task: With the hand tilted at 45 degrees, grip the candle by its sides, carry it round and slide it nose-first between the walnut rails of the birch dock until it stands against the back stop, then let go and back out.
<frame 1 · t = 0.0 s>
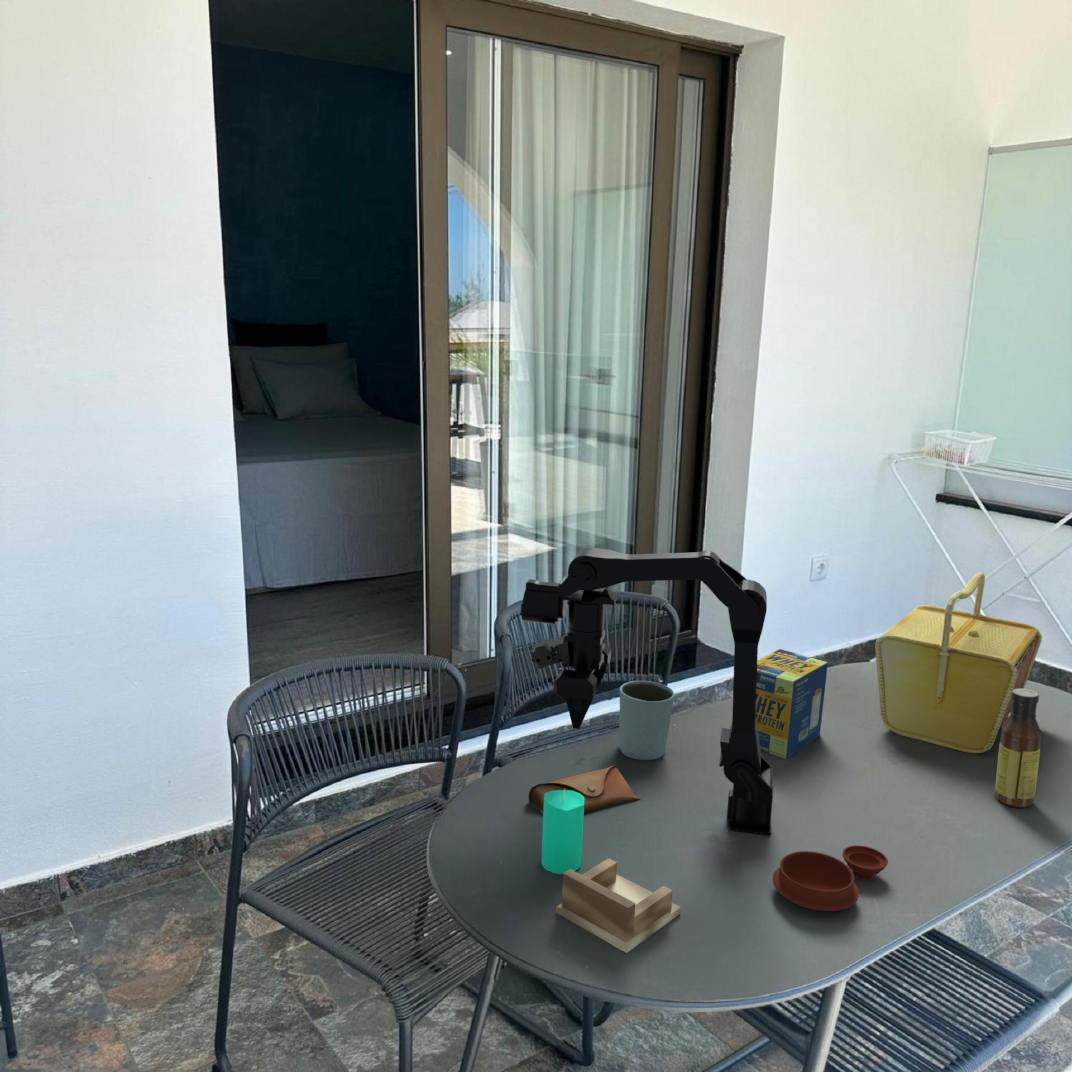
hand: (581, 717, 160), 15 cm above the table, tool pointing down, fingers open, 9 cm apart
picnic basket: (948, 725, 199), on the table
pottery: (832, 890, 139), on the table
protein box: (779, 740, 189), on the table
pale green cup: (643, 751, 182), on the table
dock: (618, 913, 132), on the table
candle: (561, 864, 144), on the table
sauce bottle: (1012, 801, 167), on the table
sunglasses case: (585, 803, 163), on the table
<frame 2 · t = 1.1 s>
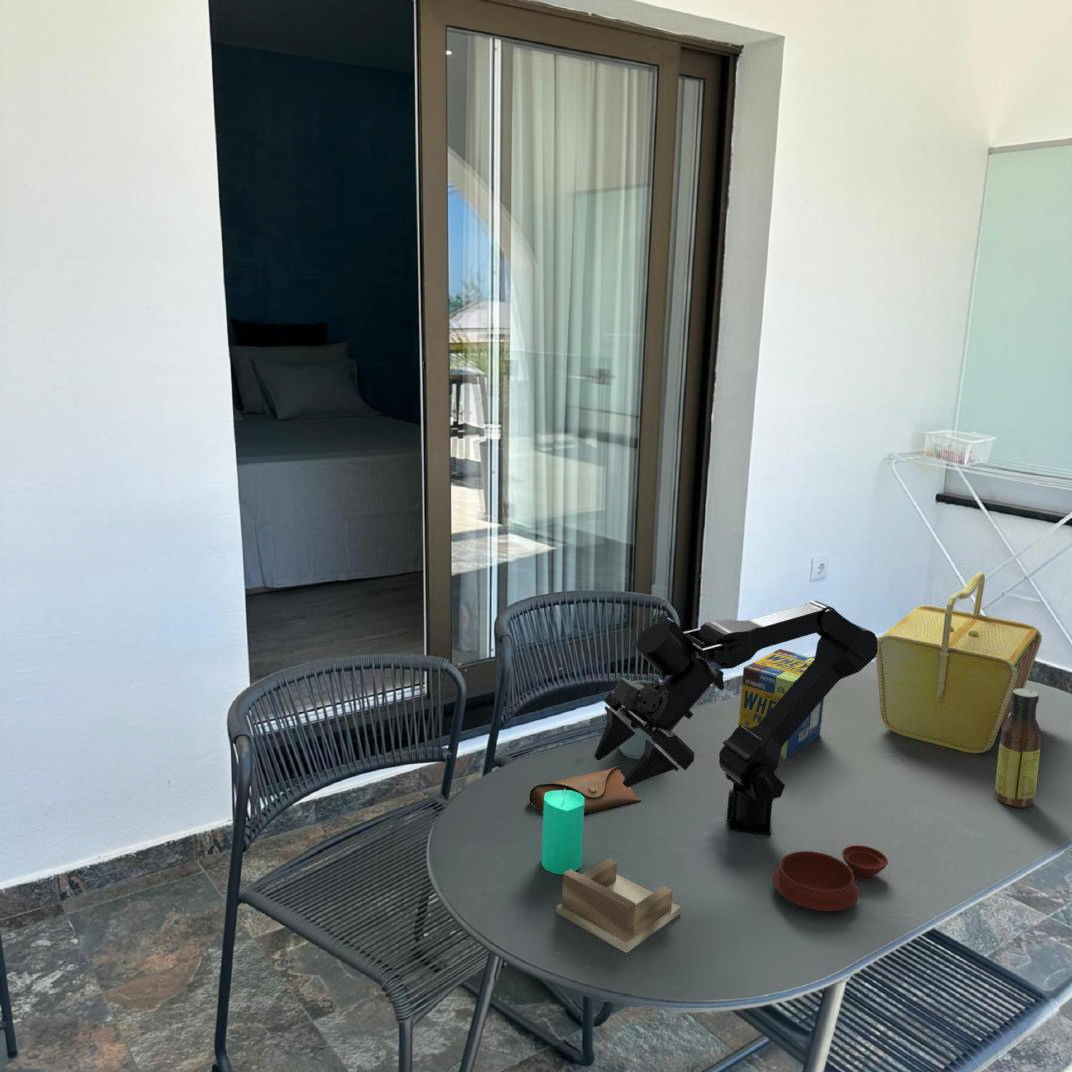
hand: (609, 771, 144), 13 cm above the table, tool tilted 45°, fingers open, 9 cm apart
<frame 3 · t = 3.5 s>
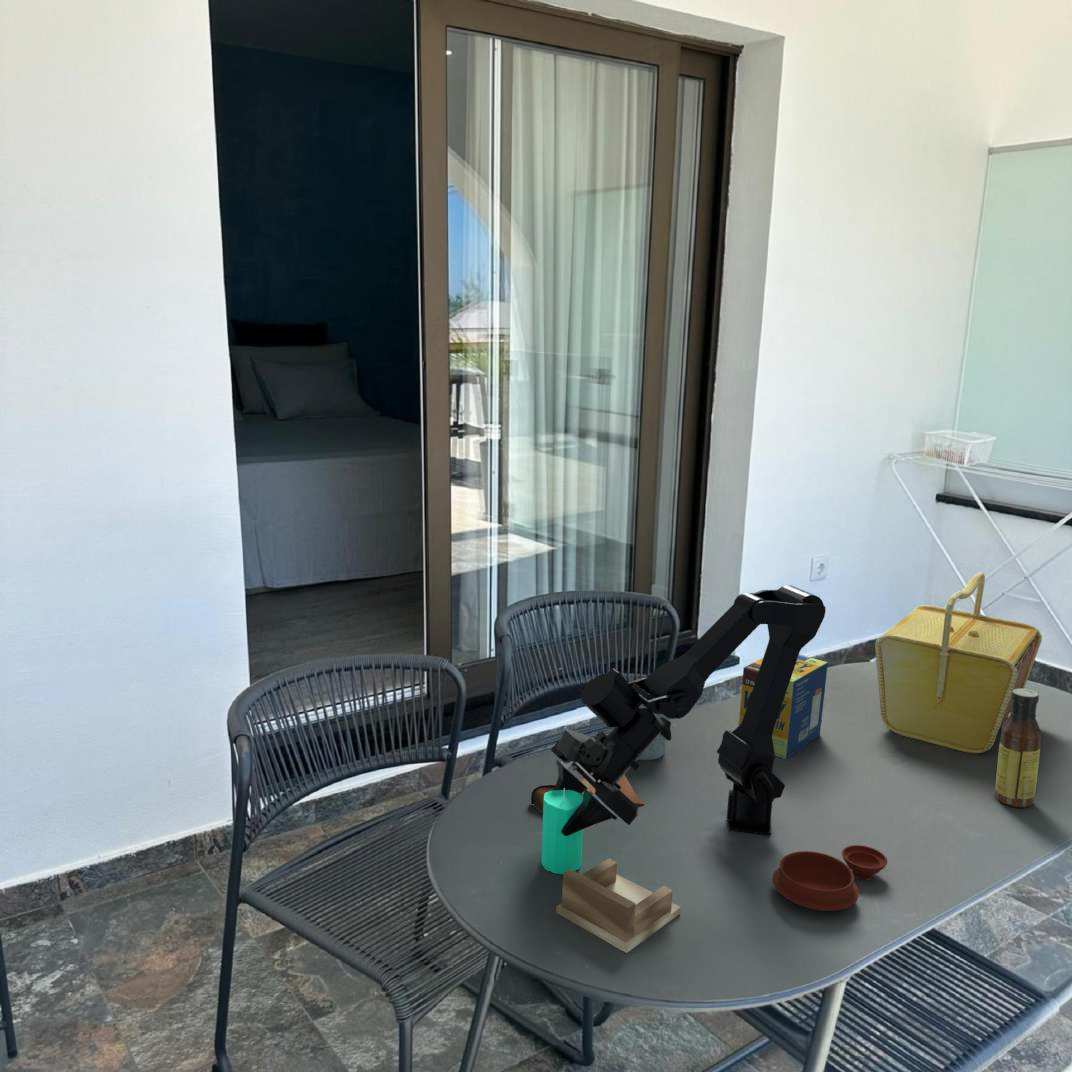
hand: (554, 824, 141), 7 cm above the table, tool tilted 45°, fingers closed on candle, 5 cm apart
candle: (561, 864, 144), on the table, touching gripper
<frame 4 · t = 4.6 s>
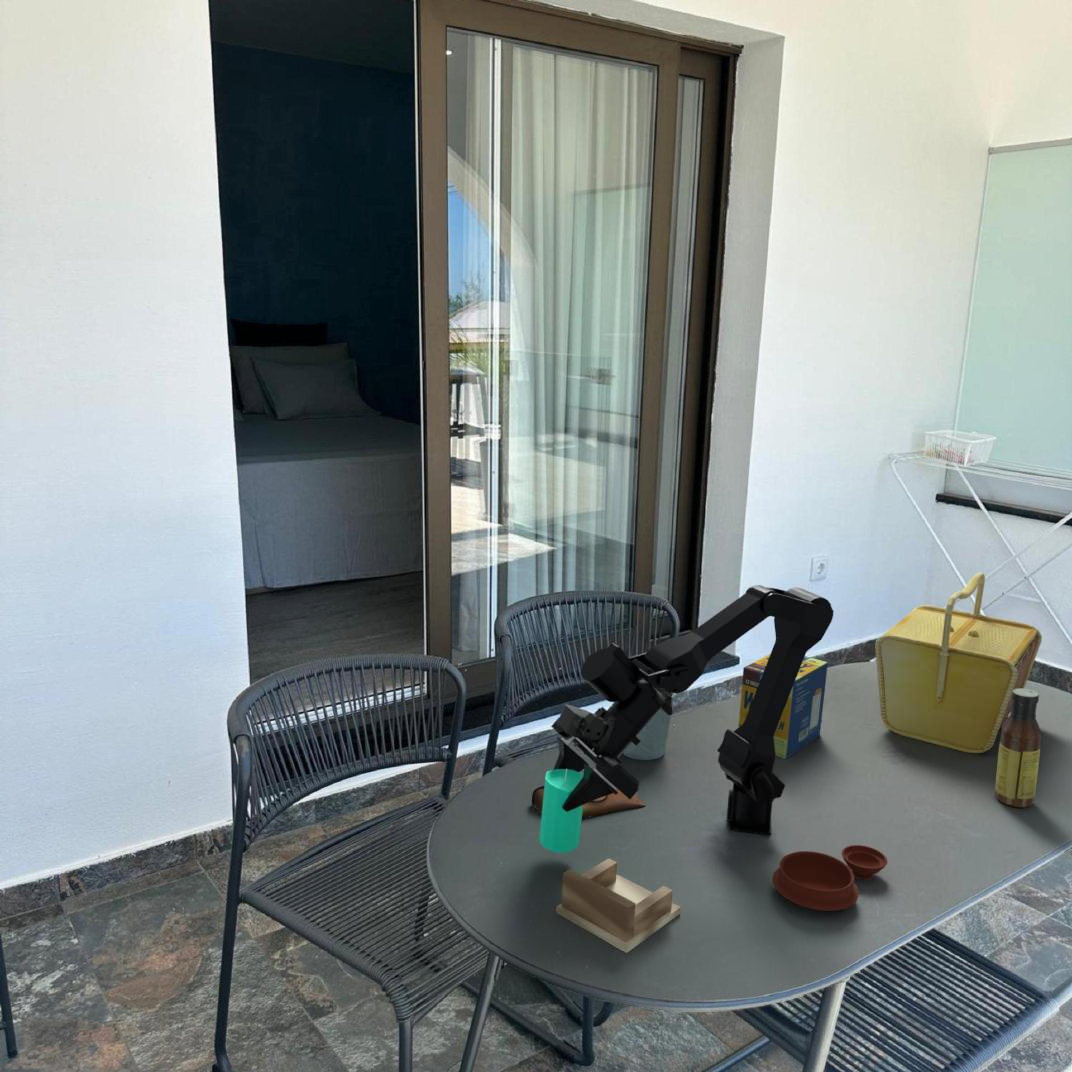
hand: (555, 800, 141), 10 cm above the table, tool tilted 45°, fingers closed on candle, 5 cm apart
candle: (559, 841, 144), point 3 cm above the table, touching gripper
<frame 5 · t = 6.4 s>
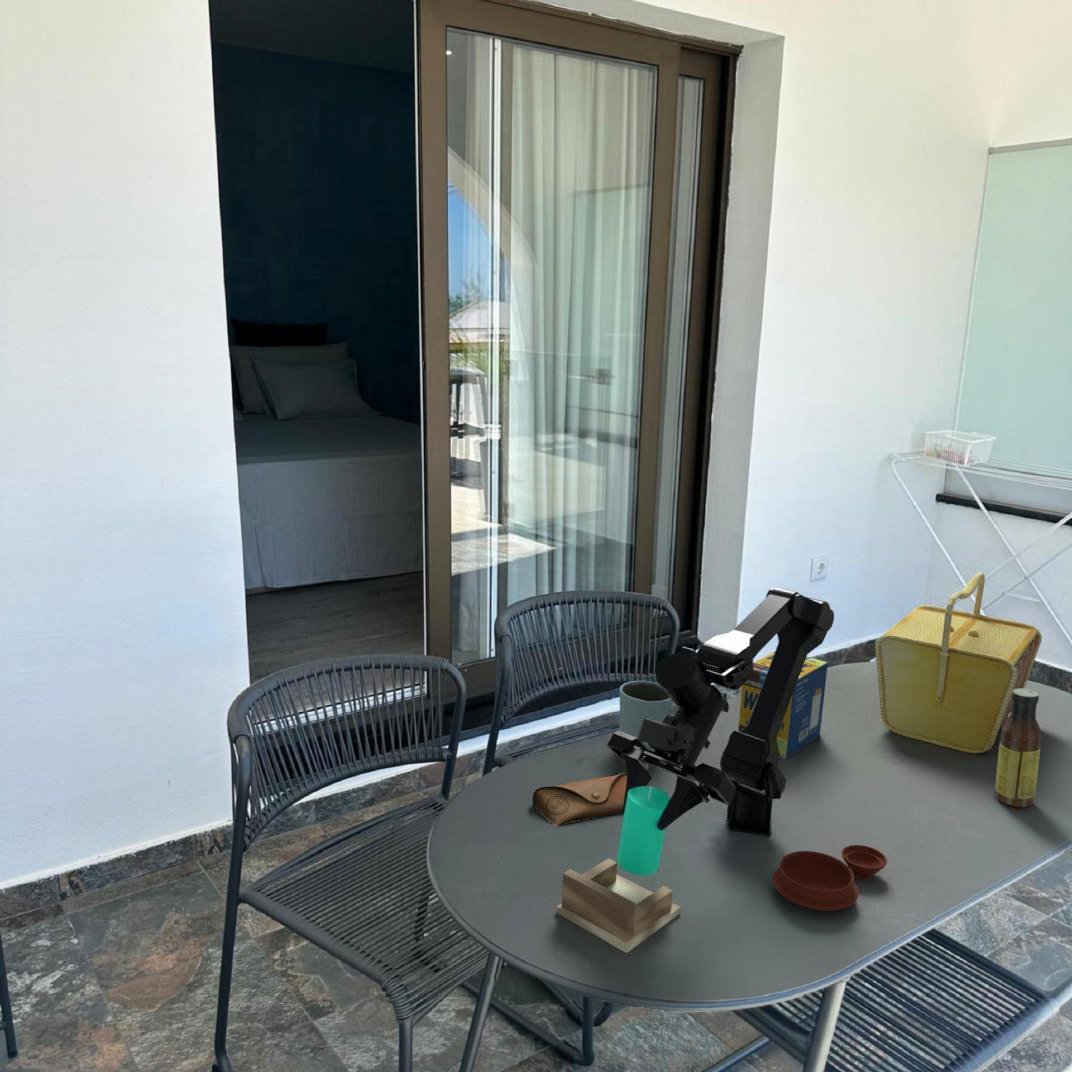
hand: (641, 821, 132), 12 cm above the table, tool tilted 45°, fingers closed on candle, 5 cm apart
candle: (637, 863, 135), point 5 cm above the table, touching gripper
when the fingers open (9 cm above the table, at t = 7.9 s): candle stays where it is, resting on dock.
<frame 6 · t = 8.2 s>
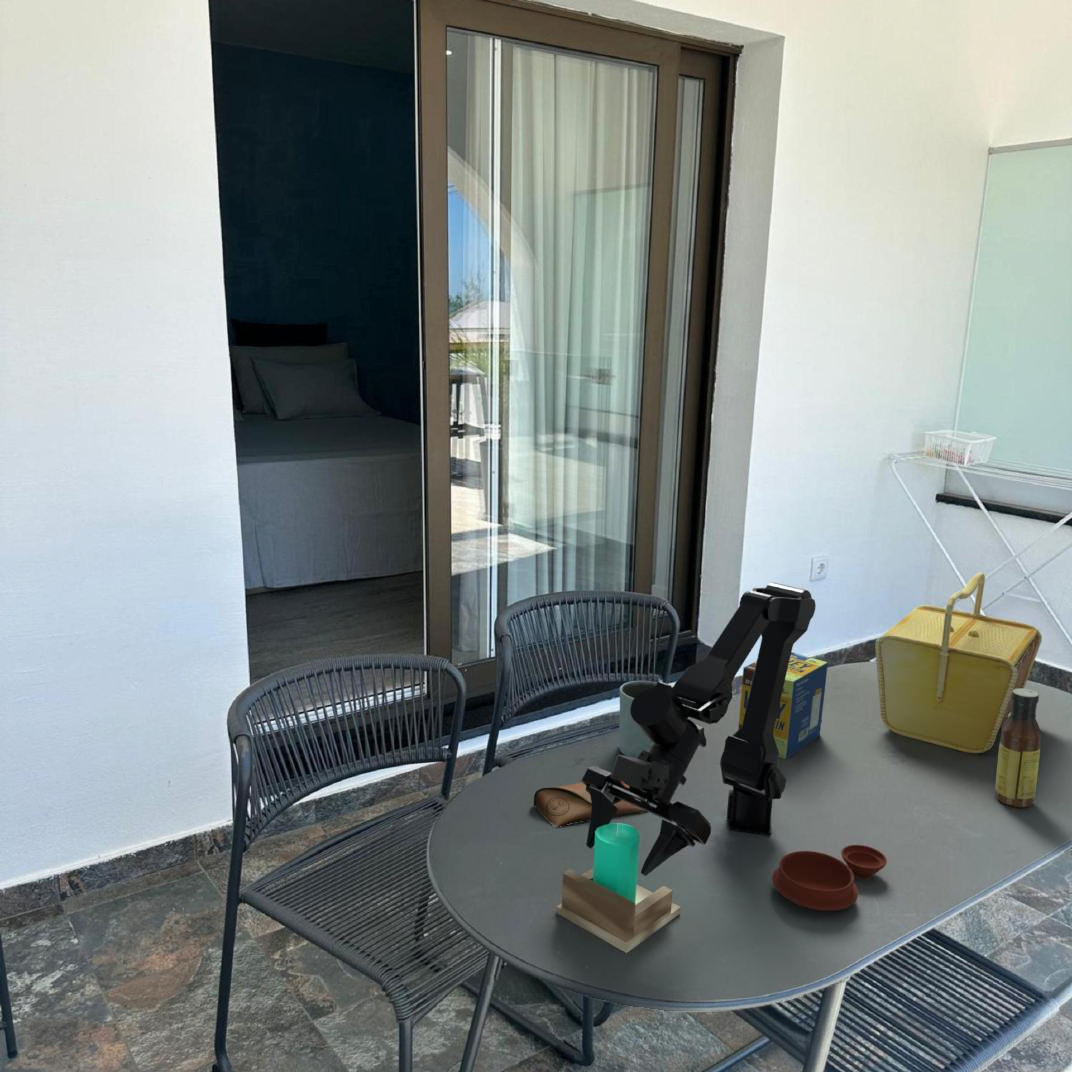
hand: (615, 860, 129), 9 cm above the table, tool tilted 45°, fingers open, 9 cm apart
candle: (613, 904, 132), point 1 cm above the table, touching dock
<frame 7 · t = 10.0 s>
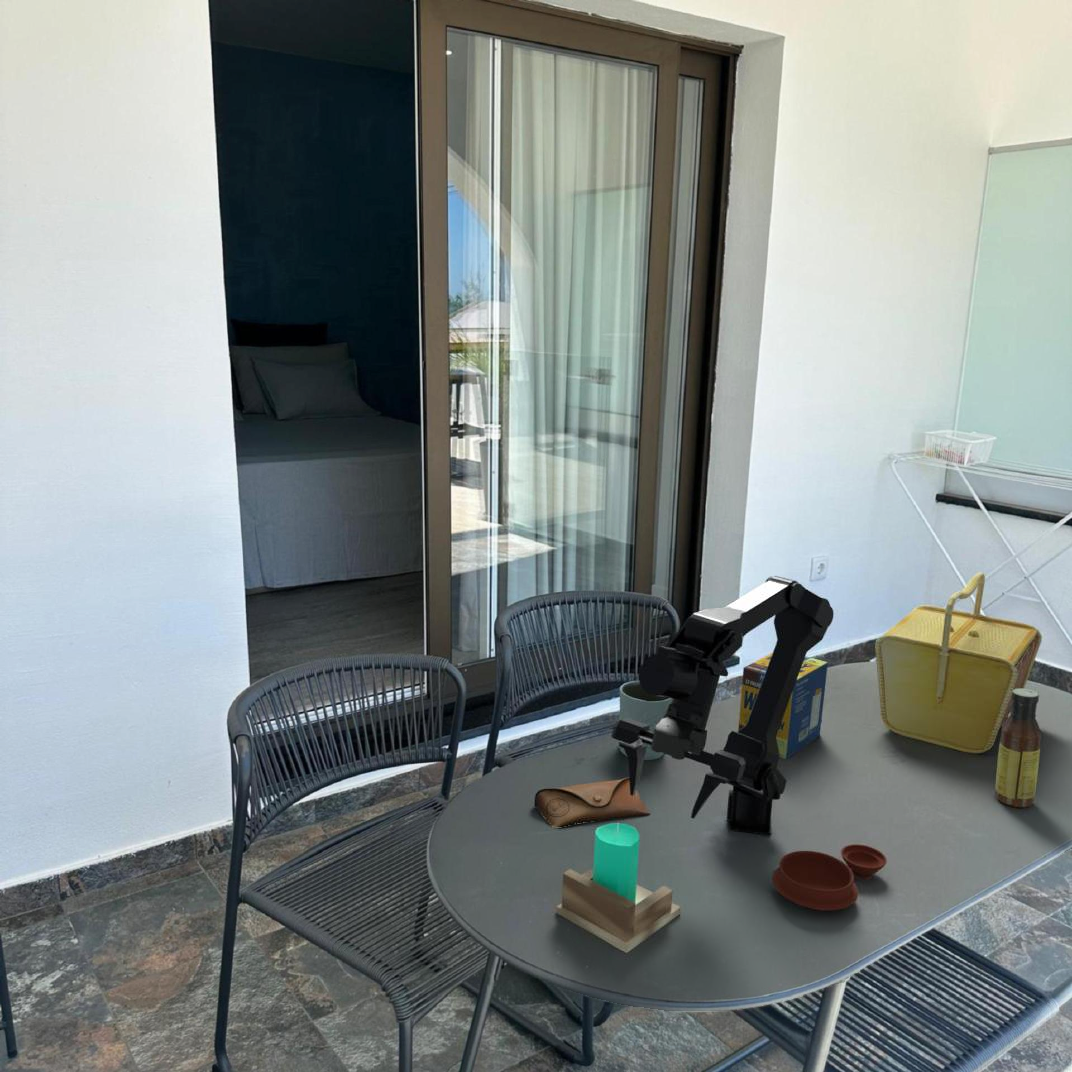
hand: (662, 806, 139), 11 cm above the table, tool tilted 20°, fingers open, 9 cm apart
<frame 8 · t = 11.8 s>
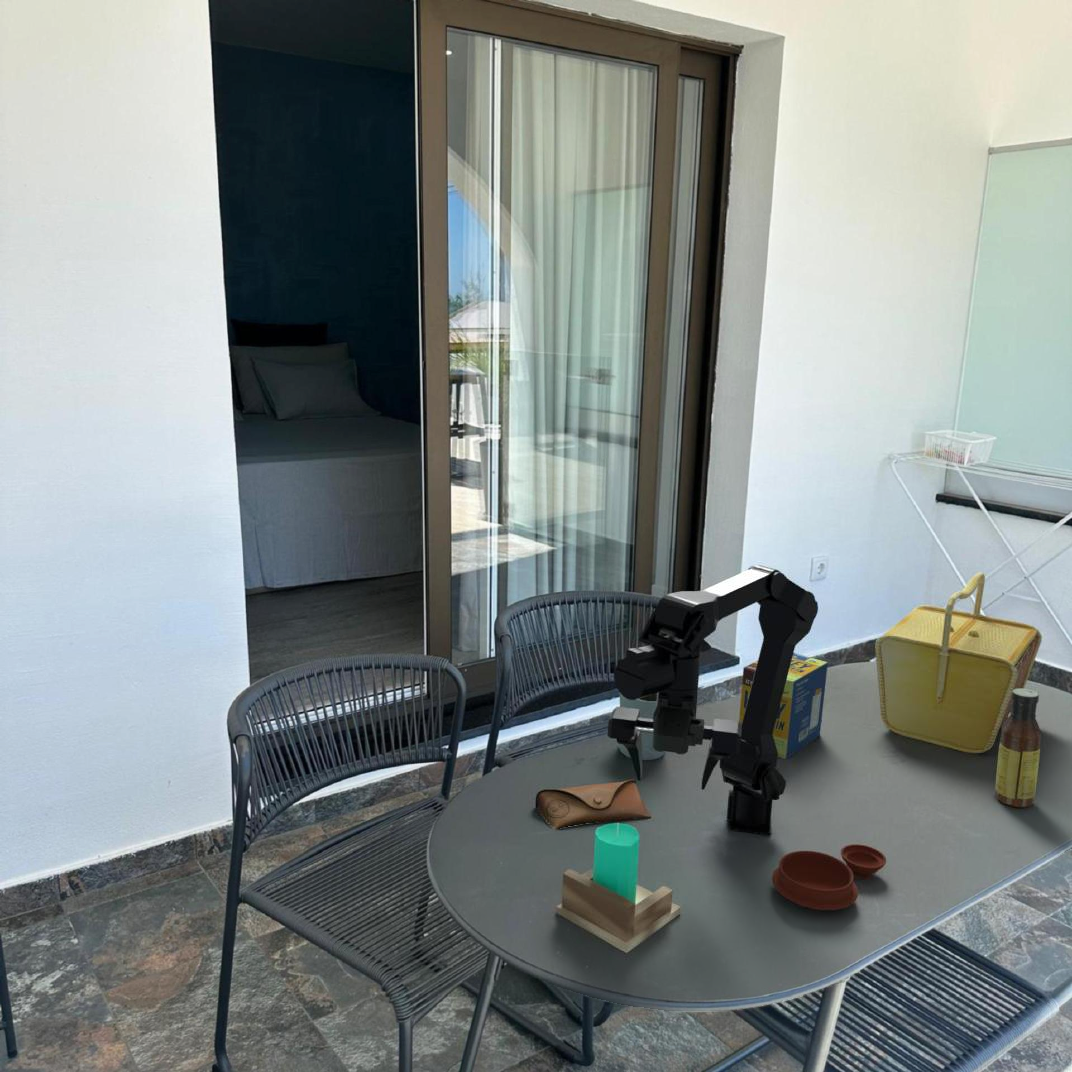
hand: (671, 784, 141), 13 cm above the table, tool pointing down, fingers open, 9 cm apart
at the end: candle 1.1 cm off-centre on the dock, point 0.8 cm above the dock's base; candle tilted 0°; the gripper is holding nothing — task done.
